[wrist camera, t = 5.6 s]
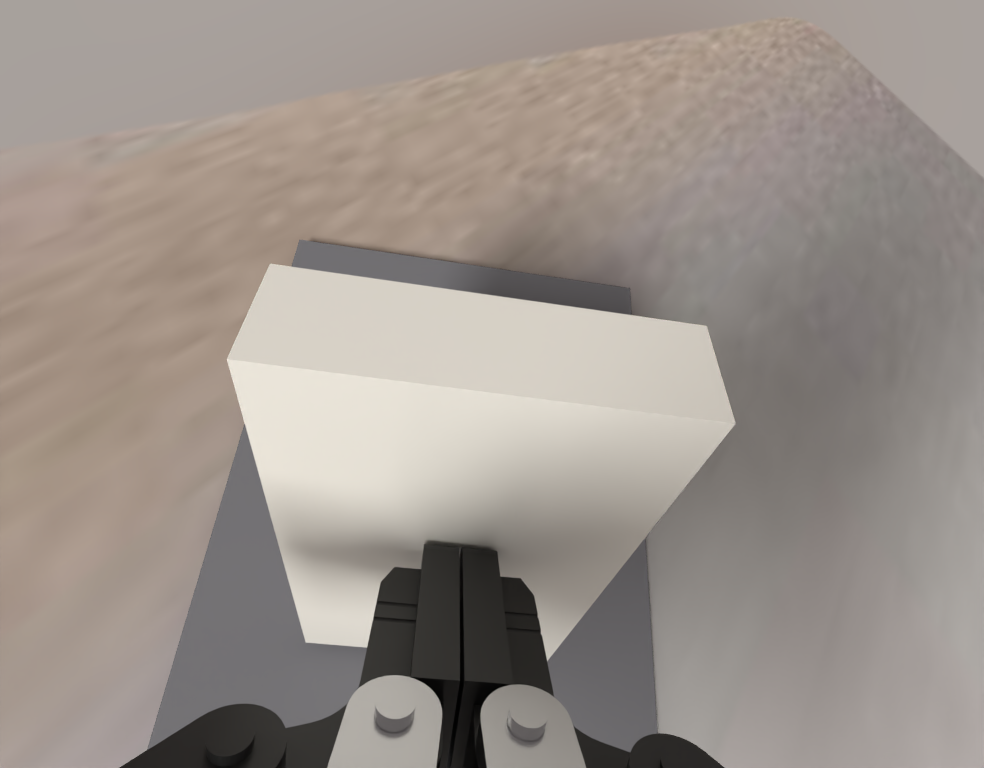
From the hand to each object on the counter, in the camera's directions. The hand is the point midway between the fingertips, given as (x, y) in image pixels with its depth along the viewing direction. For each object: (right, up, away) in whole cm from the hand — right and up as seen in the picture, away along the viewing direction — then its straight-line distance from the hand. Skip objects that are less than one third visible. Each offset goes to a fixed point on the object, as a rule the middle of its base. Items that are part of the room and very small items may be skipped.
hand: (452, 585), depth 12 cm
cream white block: (-1, -3, +6) cm, 7 cm away
